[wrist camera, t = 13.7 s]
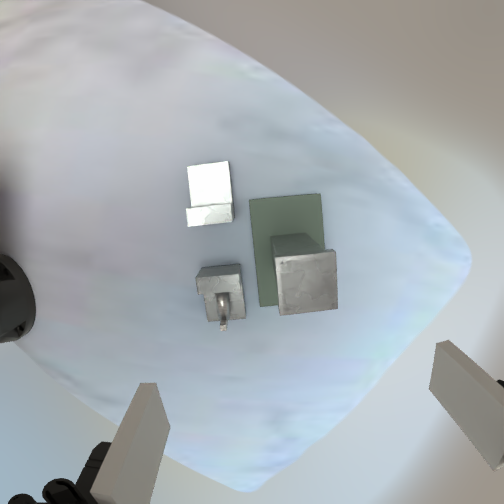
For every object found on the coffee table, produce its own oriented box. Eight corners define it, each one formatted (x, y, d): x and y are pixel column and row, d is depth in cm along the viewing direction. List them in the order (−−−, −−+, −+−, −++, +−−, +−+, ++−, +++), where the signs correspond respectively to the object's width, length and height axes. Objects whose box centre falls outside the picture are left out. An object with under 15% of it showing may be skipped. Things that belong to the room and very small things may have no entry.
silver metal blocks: (209, 317, 44) (203, 335, 38) (189, 167, 40) (179, 164, 34) (245, 314, 43) (245, 332, 38) (228, 162, 40) (225, 158, 34)
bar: (270, 273, 42) (280, 315, 28) (267, 233, 41) (275, 257, 27) (310, 269, 42) (337, 308, 28) (308, 229, 41) (335, 251, 27)
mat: (259, 305, 43) (260, 306, 43) (248, 199, 40) (248, 200, 40) (326, 298, 43) (326, 299, 43) (319, 193, 40) (320, 193, 40)
